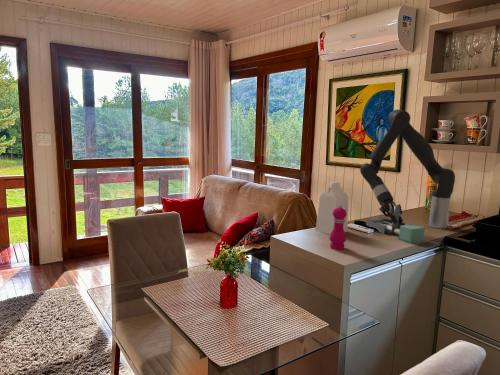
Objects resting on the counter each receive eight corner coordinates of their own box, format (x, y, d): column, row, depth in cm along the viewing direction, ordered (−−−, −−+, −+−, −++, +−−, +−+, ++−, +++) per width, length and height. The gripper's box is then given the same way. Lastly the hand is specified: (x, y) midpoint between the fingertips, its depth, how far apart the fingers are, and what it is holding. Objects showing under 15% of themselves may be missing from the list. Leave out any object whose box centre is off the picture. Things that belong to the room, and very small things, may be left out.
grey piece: (386, 228, 196) (388, 203, 193) (414, 238, 180) (417, 210, 177) (382, 229, 194) (384, 203, 192) (409, 239, 178) (412, 211, 176)
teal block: (411, 237, 185) (413, 224, 184) (423, 241, 179) (424, 227, 177) (398, 239, 181) (400, 225, 180) (410, 243, 175) (411, 229, 173)
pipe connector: (387, 214, 212) (412, 220, 200) (387, 223, 213) (411, 229, 201) (375, 217, 205) (400, 223, 193) (375, 226, 206) (399, 233, 194)
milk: (329, 226, 200) (332, 179, 196) (347, 231, 192) (351, 182, 188) (315, 230, 193) (318, 181, 188) (333, 235, 184) (337, 184, 180)
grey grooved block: (377, 226, 205) (377, 217, 204) (395, 232, 193) (396, 222, 192) (366, 227, 201) (366, 218, 200) (384, 233, 190) (385, 224, 189)
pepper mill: (326, 245, 169) (329, 202, 165) (342, 245, 169) (345, 202, 166) (331, 250, 161) (334, 206, 158) (347, 250, 162) (351, 206, 159)
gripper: (377, 191, 189) (393, 220, 180) (396, 190, 195) (413, 217, 186) (368, 199, 194) (384, 227, 186) (388, 198, 201) (404, 225, 192)
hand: (398, 222), depth 186 cm, fingers closed on grey piece, 3 cm apart
